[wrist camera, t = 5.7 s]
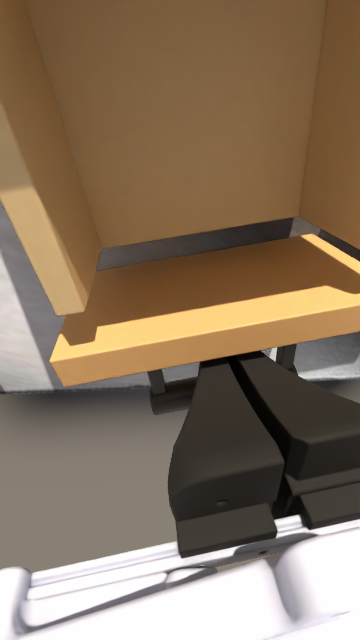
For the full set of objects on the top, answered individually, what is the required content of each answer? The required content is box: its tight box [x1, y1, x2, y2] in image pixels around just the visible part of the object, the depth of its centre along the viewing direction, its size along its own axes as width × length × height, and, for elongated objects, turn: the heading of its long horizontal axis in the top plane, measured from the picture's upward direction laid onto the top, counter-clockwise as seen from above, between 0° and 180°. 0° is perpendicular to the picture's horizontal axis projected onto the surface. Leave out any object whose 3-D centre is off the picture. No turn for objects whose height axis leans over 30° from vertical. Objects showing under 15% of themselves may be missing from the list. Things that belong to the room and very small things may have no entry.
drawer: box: [0, 0, 360, 415], centre depth 9 cm, size 17×11×6 cm, turn 7°
